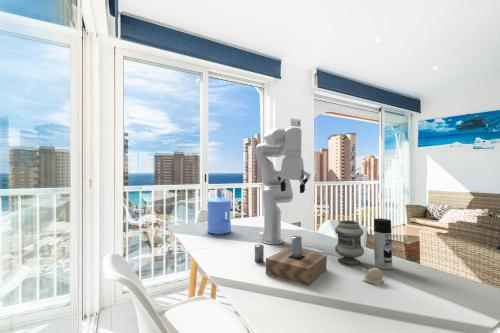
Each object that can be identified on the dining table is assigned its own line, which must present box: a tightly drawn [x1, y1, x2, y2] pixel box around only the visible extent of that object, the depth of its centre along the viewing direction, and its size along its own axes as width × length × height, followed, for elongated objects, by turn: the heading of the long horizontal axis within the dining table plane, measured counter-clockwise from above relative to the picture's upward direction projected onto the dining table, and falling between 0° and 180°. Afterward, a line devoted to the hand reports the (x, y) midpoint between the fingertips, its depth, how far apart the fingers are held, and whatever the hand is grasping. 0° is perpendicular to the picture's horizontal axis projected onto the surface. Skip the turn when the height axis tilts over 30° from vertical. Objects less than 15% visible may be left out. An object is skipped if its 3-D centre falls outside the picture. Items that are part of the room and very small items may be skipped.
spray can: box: [373, 218, 393, 270], centre depth 109 cm, size 7×7×20 cm
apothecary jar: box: [334, 219, 365, 267], centre depth 114 cm, size 12×12×18 cm
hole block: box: [265, 247, 327, 287], centre depth 103 cm, size 18×18×6 cm
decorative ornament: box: [362, 267, 384, 286], centre depth 94 cm, size 4×8×5 cm, turn 101°
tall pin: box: [291, 235, 303, 260], centre depth 103 cm, size 4×4×14 cm
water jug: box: [206, 189, 232, 235], centre depth 171 cm, size 16×16×28 cm
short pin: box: [254, 244, 265, 264], centre depth 115 cm, size 4×4×7 cm
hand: (292, 191), depth 118 cm, fingers open, 9 cm apart
